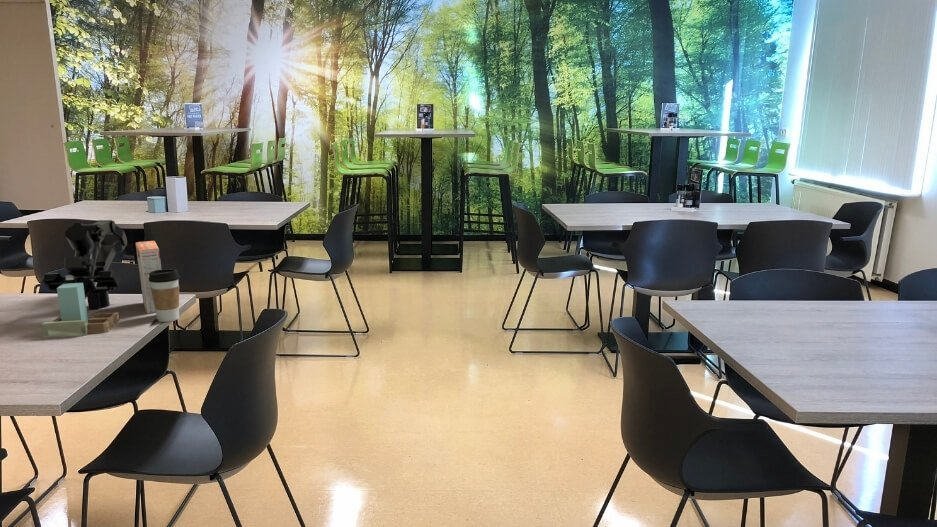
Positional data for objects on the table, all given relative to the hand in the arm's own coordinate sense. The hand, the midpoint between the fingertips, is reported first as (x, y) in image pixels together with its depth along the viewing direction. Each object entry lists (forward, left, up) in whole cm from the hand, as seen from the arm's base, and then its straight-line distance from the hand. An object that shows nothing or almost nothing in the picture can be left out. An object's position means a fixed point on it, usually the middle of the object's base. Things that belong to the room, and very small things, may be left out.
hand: (76, 305), depth 186 cm
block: (+3, +1, -6) cm, 6 cm away
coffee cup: (-8, +22, -7) cm, 24 cm away
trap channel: (+3, +3, -7) cm, 8 cm away
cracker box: (-18, +13, -7) cm, 23 cm away
